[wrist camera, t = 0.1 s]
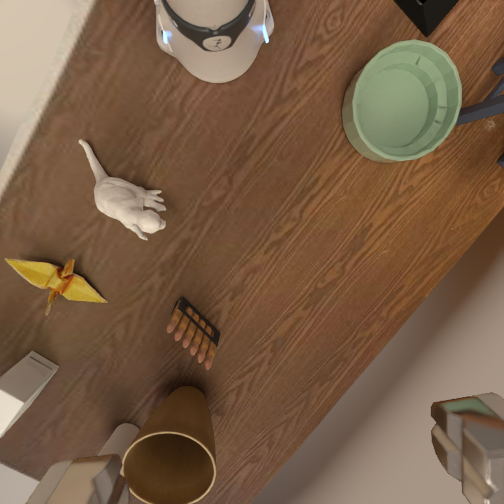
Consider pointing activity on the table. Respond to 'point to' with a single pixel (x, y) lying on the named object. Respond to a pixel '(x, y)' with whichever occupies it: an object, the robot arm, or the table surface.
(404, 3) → the black slotted stand
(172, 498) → the plant pot
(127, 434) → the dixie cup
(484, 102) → the nightstand
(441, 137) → the bowl
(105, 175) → the dinosaur figurine
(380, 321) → the table surface
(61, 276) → the origami crane
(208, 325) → the ammunition clip
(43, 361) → the cosmetics box
